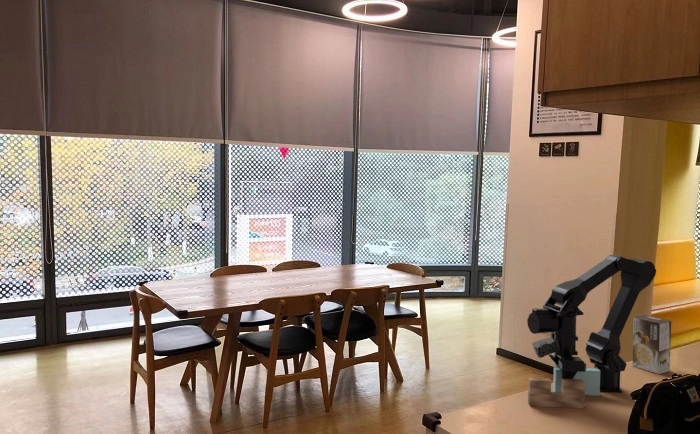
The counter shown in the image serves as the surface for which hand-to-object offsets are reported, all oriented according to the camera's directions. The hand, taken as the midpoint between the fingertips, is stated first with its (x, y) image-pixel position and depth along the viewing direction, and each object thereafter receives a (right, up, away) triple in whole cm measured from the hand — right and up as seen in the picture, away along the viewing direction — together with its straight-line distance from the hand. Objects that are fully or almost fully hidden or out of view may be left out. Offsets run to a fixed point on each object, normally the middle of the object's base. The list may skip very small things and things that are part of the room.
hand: (563, 385), depth 152 cm
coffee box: (+36, -1, +20) cm, 41 cm away
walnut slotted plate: (-5, -3, -8) cm, 10 cm away
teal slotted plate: (+3, -2, 0) cm, 4 cm away
